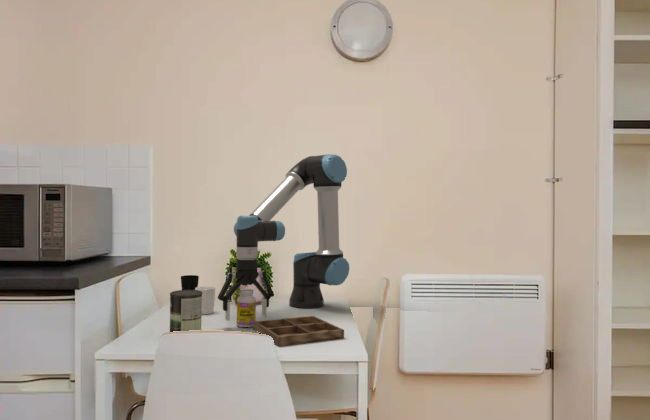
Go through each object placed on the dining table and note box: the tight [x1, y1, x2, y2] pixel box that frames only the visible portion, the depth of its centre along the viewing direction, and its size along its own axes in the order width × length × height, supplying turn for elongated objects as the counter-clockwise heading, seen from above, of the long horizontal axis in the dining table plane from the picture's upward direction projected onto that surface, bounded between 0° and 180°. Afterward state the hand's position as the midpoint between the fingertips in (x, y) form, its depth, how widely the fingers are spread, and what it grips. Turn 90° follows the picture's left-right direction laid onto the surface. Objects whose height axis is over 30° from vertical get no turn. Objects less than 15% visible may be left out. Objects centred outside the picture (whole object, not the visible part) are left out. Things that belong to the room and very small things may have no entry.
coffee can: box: [169, 289, 203, 333], centre depth 162 cm, size 10×10×14 cm
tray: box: [253, 315, 345, 348], centre depth 165 cm, size 23×23×3 cm
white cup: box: [195, 285, 216, 315], centre depth 197 cm, size 8×8×10 cm
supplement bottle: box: [236, 288, 257, 328], centre depth 176 cm, size 7×7×13 cm
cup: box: [180, 274, 200, 290], centre depth 215 cm, size 8×8×12 cm
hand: (246, 318), depth 176 cm, fingers open, 13 cm apart
